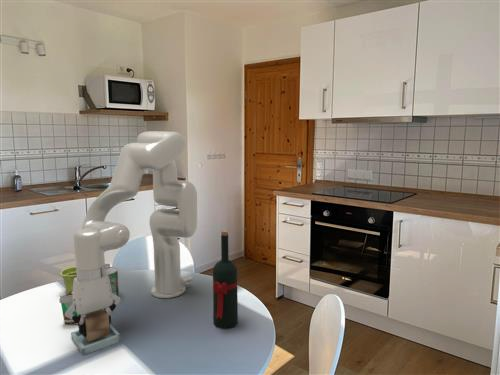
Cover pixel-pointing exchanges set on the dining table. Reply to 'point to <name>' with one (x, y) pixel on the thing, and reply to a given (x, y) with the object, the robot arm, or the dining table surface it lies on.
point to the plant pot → (69, 278)
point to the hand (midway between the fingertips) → (95, 330)
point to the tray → (95, 341)
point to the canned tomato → (113, 280)
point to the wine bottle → (225, 289)
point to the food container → (66, 303)
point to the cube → (97, 324)
